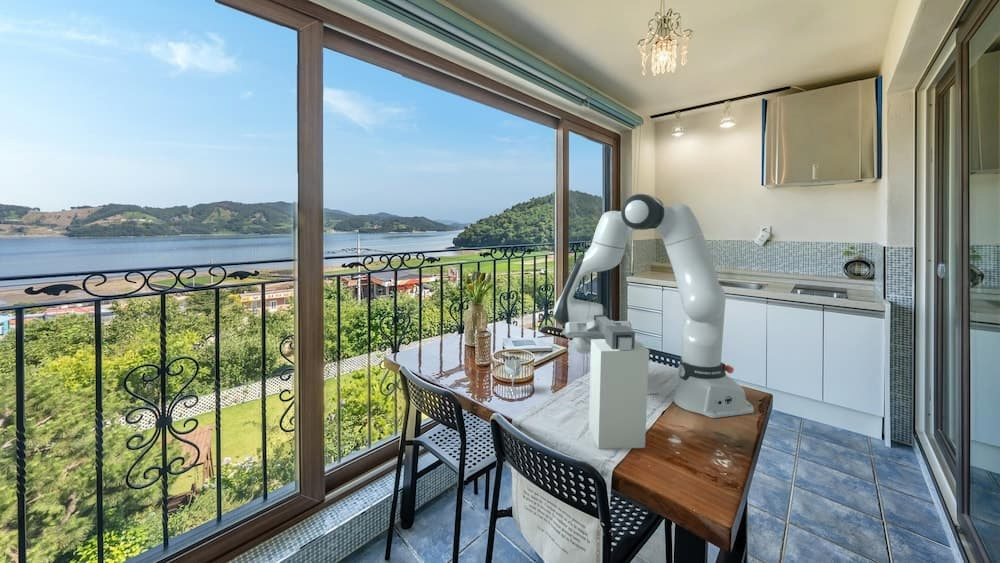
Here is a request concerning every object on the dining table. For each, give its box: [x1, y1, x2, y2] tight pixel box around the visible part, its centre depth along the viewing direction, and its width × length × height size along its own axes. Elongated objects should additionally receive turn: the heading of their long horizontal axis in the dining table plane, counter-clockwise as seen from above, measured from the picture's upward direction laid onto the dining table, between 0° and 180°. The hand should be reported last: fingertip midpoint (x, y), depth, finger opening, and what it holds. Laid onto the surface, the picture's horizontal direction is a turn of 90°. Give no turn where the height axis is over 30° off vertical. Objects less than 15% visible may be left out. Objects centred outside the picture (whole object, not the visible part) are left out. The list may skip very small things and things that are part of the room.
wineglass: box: [503, 355, 522, 395], centre depth 135 cm, size 6×6×12 cm
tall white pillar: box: [588, 326, 650, 450], centre depth 104 cm, size 12×10×30 cm
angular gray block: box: [594, 315, 632, 350], centre depth 109 cm, size 3×24×3 cm, turn 1°
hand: (603, 322), depth 116 cm, fingers closed on angular gray block, 3 cm apart
